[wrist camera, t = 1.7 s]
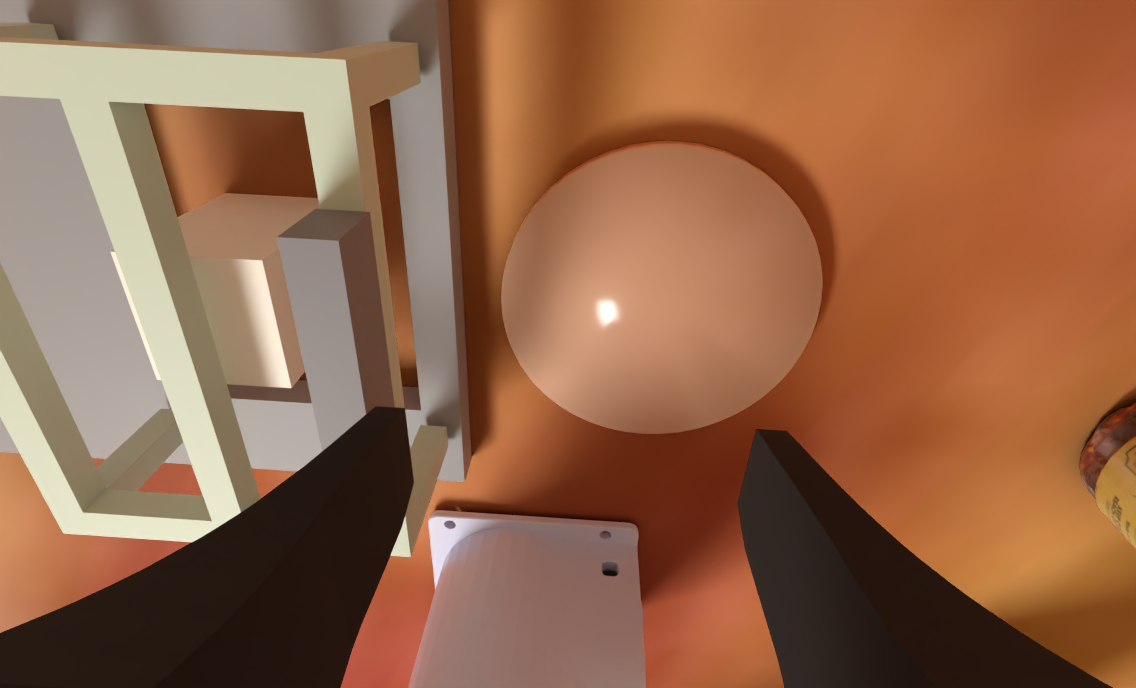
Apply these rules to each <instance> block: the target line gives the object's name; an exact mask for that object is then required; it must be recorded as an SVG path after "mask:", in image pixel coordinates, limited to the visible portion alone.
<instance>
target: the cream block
mask: <svg viewBox="0 0 1136 688" xmlns="http://www.w3.org/2000/svg"><path fill="white" fill-rule="evenodd" d="M314 209H320V206H319V201H318V198H306V197H289V196H271V195H253V194H235V193H224V194H222V195H220V196H218V197H216V198H214V199H212V200H210V201H208V202H206V203H204V204H202V205H200V206H199V207H197V208H195V209H193V210H191V211H189V212H187V213H185V214H183V215H181V216H179V217H177V218H178V221H179V225H180V228H181V231H182V235H183V238H184V241H185V245H186V248H187V252H188V255H189V258H190V262H191V265H192V268H193V272H194V275H195V279H196V282H197V285H198V289H199V292H200V296H201V299H202V302H203V306H204V309H205V312H206V316H207V319H208V323H209V326H210V329H211V333H212V336H213V340H214V343H215V346H216V350H217V353H218V356H219V360H220V363H221V367H222V370H223V373H224V377H225V380H226V384H231V385H247V386H263V387H279V388H292V387H293V386H294V385H295V383H296V382H297V381H298V380H299V378H300V377H301V376H302V375H303V373H304V372H305V368H304V364H303V359H302V354H301V349H300V345H299V340H298V335H297V331H296V326H295V321H294V317H293V312H292V307H291V302H290V298H289V293H288V288H287V284H286V279H285V274H284V270H283V265H282V260H281V256H280V251H279V246H278V241H277V237H278V236H279V235H280V234H282V233H283V232H284V231H286V230H287V229H288V228H290V227H291V226H293V225H294V224H295V223H297V222H298V221H299V220H301V219H302V218H304V217H305V216H306V215H308V214H309V213H310V212H312V211H313V210H314ZM111 255H112V258H113V260H114V263H115V266H116V269H117V271H118V274H119V277H120V280H121V282H122V285H123V288H124V291H125V293H126V296H127V299H128V302H129V304H130V307H131V310H132V313H133V315H134V318H135V321H136V324H137V326H138V329H139V332H140V335H141V337H142V340H143V343H144V346H145V348H146V351H147V354H148V357H149V359H150V362H151V365H152V368H153V370H154V373H155V376H156V379H157V380H161V378H160V375H159V373H158V370H157V367H156V364H155V362H154V359H153V356H152V353H151V350H150V348H149V345H148V342H147V339H146V337H145V334H144V331H143V328H142V326H141V323H140V320H139V317H138V314H137V312H136V309H135V306H134V303H133V301H132V298H131V295H130V292H129V289H128V287H127V284H126V281H125V278H124V276H123V273H122V270H121V267H120V264H119V262H118V259H117V256H116V253H115V251H114V250H113V251H111Z"/></svg>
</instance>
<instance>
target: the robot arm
mask: <svg viewBox="0 0 1136 688" xmlns="http://www.w3.org/2000/svg"><path fill="white" fill-rule="evenodd" d="M413 485H414V478H413V469H412V461H411V453H410V445H409V437H408V428H407V420H406V412H405V408H397V407H381V406H376V407H374V408H373V409H372V410H371V411H369V412H368V413H367V414H366V415H365V416H363V417H362V418H361V419H360V420H359V421H358V422H356V423H355V424H354V425H353V426H352V427H350V428H349V429H348V430H347V431H346V432H345V433H343V434H342V435H341V436H340V437H339V438H338V439H336V440H335V441H334V442H333V443H332V444H331V445H329V446H328V447H327V448H326V449H325V450H323V451H322V452H321V453H320V454H318V455H317V456H316V457H315V458H314V459H312V460H311V461H310V462H309V463H307V464H306V465H305V466H304V467H303V468H301V469H300V470H299V471H297V472H296V473H295V474H293V475H292V476H291V477H289V478H288V479H287V480H285V481H284V482H283V483H281V484H280V485H279V486H277V487H276V488H275V489H273V490H272V491H271V492H269V493H268V494H267V495H265V496H264V497H263V498H261V499H260V500H258V501H257V502H256V503H254V504H253V505H251V506H250V507H248V508H247V509H245V510H244V511H242V512H241V513H239V514H238V515H236V516H235V517H233V518H231V519H230V520H228V521H227V522H225V523H224V524H222V525H220V526H219V527H217V528H216V529H214V530H212V531H211V532H209V533H208V534H206V535H204V536H203V537H201V538H199V539H197V540H196V541H194V542H192V543H190V544H188V545H186V546H185V547H183V548H181V549H179V550H177V551H176V552H174V553H172V554H170V555H168V556H167V557H165V558H163V559H161V560H159V561H158V562H156V563H154V564H152V565H150V566H149V567H147V568H145V569H143V570H141V571H139V572H137V573H135V574H133V575H131V576H129V577H127V578H125V579H123V580H121V581H119V582H117V583H115V584H113V585H110V586H108V587H106V588H104V589H102V590H100V591H98V592H95V593H93V594H91V595H89V596H87V597H85V598H83V599H80V600H78V601H76V602H74V603H71V604H69V605H67V606H65V607H62V608H60V609H58V610H55V611H53V612H51V613H48V614H46V615H43V616H41V617H38V618H36V619H33V620H31V621H29V622H26V623H24V624H21V625H19V626H16V627H14V628H11V629H9V630H7V631H4V632H2V633H0V688H340V687H341V684H342V681H343V677H344V674H345V671H346V668H347V664H348V661H349V658H350V655H351V651H352V648H353V646H354V643H355V640H356V638H357V635H358V632H359V629H360V627H361V624H362V622H363V620H364V617H365V615H366V612H367V610H368V608H369V605H370V603H371V600H372V598H373V596H374V593H375V591H376V589H377V586H378V584H379V581H380V579H381V577H382V574H383V572H384V570H385V567H386V565H387V562H388V560H389V558H390V555H391V553H392V550H393V548H394V545H395V543H396V541H397V538H398V536H399V533H400V531H401V528H402V525H403V522H404V518H405V515H406V511H407V508H408V504H409V500H410V496H411V492H412V489H413ZM738 508H739V515H740V522H741V528H742V534H743V540H744V545H745V550H746V554H747V557H748V561H749V564H750V568H751V571H752V575H753V578H754V581H755V585H756V588H757V591H758V595H759V598H760V601H761V605H762V608H763V611H764V615H765V618H766V621H767V625H768V628H769V631H770V635H771V638H772V641H773V645H774V648H775V651H776V655H777V658H778V662H779V666H780V670H781V674H782V678H783V683H784V688H1113V687H1111V686H1109V685H1107V684H1105V683H1103V682H1102V681H1100V680H1098V679H1096V678H1095V677H1093V676H1091V675H1089V674H1088V673H1086V672H1084V671H1083V670H1081V669H1079V668H1078V667H1076V666H1074V665H1073V664H1071V663H1069V662H1068V661H1066V660H1064V659H1063V658H1061V657H1059V656H1058V655H1056V654H1054V653H1053V652H1051V651H1049V650H1048V649H1046V648H1045V647H1043V646H1041V645H1040V644H1038V643H1037V642H1035V641H1034V640H1032V639H1030V638H1029V637H1027V636H1026V635H1024V634H1023V633H1021V632H1019V631H1018V630H1016V629H1015V628H1013V627H1012V626H1010V625H1009V624H1007V623H1006V622H1005V621H1003V620H1002V619H1000V618H999V617H997V616H996V615H994V614H993V613H991V612H990V611H989V610H987V609H986V608H984V607H983V606H981V605H980V604H978V603H977V602H975V601H974V600H973V599H971V598H970V597H968V596H967V595H966V594H964V593H963V592H962V591H960V590H959V589H957V588H956V587H955V586H953V585H952V584H951V583H950V582H948V581H947V580H946V579H944V578H943V577H942V576H941V575H939V574H938V573H937V572H935V571H934V570H933V569H932V568H930V567H929V566H928V565H927V564H925V563H924V562H923V561H921V560H920V559H919V558H918V557H916V556H915V555H914V554H913V553H912V552H910V551H909V550H908V549H907V548H906V547H904V546H903V545H902V544H901V543H900V542H899V541H898V540H897V539H895V538H894V537H893V536H892V535H891V534H890V533H889V532H888V531H886V530H885V529H884V528H883V527H882V526H881V525H880V524H879V523H877V522H876V521H875V520H874V519H873V518H872V517H871V516H870V515H869V514H868V513H867V512H866V511H865V510H864V509H862V508H861V507H860V506H859V505H858V504H857V503H856V502H855V501H854V500H853V499H852V498H851V497H850V496H849V495H848V494H847V493H846V492H845V491H844V490H843V489H842V488H841V487H840V486H839V485H838V484H837V483H836V482H835V481H834V480H833V479H832V478H831V477H830V476H829V475H828V474H827V473H826V472H825V470H824V469H823V468H822V467H821V466H820V465H819V464H818V463H817V462H816V461H815V460H814V459H813V458H812V457H811V456H810V455H809V454H808V453H807V452H806V451H805V450H804V448H803V447H802V446H801V445H800V444H799V443H798V442H797V441H796V440H795V439H794V438H793V437H792V436H791V435H790V434H789V433H788V432H787V431H778V430H762V429H756V432H755V436H754V440H753V444H752V448H751V452H750V456H749V460H748V464H747V468H746V472H745V476H744V480H743V484H742V488H741V492H740V496H739V500H738ZM449 521H453V522H449ZM428 526H429V535H430V544H431V554H432V563H433V573H434V582H435V594H434V597H433V601H432V604H431V608H430V611H429V615H428V619H427V622H426V626H425V629H424V633H423V636H422V640H421V644H420V647H419V651H418V654H417V658H416V662H415V665H414V669H413V672H412V676H411V679H410V683H409V687H408V688H646V672H645V654H644V639H643V608H642V602H641V594H640V579H639V565H638V550H637V545H638V538H639V534H638V528H637V526H636V525H634V524H632V523H625V522H610V521H595V520H580V519H565V518H550V517H535V516H520V515H505V514H489V513H474V512H459V511H444V510H437V511H434V512H432V513H431V514H430V517H429V521H428ZM602 531H608V532H602Z"/></svg>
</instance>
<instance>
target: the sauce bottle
mask: <svg viewBox="0 0 1136 688" xmlns="http://www.w3.org/2000/svg"><path fill="white" fill-rule="evenodd" d="M1079 467H1080V472H1081V478H1082V480H1083V482H1084V484H1085V486H1086V487H1087V489H1088V490H1089V492H1090V493H1091V494H1092V495H1093V496H1094V498H1095V499H1096V504H1097V506H1098V507H1099V509H1100V510H1101V511H1102V512H1103V514H1104V515H1105V516H1106V517H1107V518H1108V519H1109V520H1110V521H1111V522H1112V524H1113V525H1114V526H1115V527H1116V528H1117V529H1118V530H1119V531H1120V532H1121V534H1122V535H1123V536H1124V537H1125V538H1126V539H1127V540H1128V541H1129V542H1130V543H1131V544H1132V545H1133V547H1134V548H1135V549H1136V403H1134V404H1133V405H1132V406H1130V407H1126V408H1121V409H1119V410H1117V411H1116V412H1114V413H1113V414H1111V415H1109V416H1108V417H1106V418H1105V419H1104V420H1103V421H1102V422H1101V423H1100V424H1099V425H1098V427H1097V429H1096V430H1095V432H1094V435H1093V436H1092V437H1091V438H1090V439H1089V440H1088V442H1087V444H1086V446H1085V447H1084V449H1083V450H1082V452H1081V457H1080V462H1079Z"/></svg>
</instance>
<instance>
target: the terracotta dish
mask: <svg viewBox="0 0 1136 688" xmlns="http://www.w3.org/2000/svg"><path fill="white" fill-rule="evenodd" d="M822 284H823V278H822V267H821V259H820V255H819V251H818V247H817V243H816V240H815V238H814V236H813V233H812V231H811V229H810V226H809V224H808V222H807V221H806V219H805V217H804V216H803V214H802V213H801V211H800V209H799V208H798V206H797V205H796V204H795V203H794V202H793V200H792V199H791V198H790V197H789V196H788V195H787V193H786V192H785V191H784V190H783V189H782V188H781V187H780V186H779V185H778V184H777V183H776V182H775V181H774V180H773V179H771V178H770V177H769V176H768V175H767V174H765V173H764V172H763V171H762V170H761V169H759V168H757V167H756V166H754V165H753V164H751V163H749V162H748V161H746V160H744V159H743V158H741V157H738V156H736V155H734V154H731V153H729V152H727V151H724V150H722V149H718V148H715V147H711V146H707V145H703V144H699V143H691V142H683V141H652V142H645V143H638V144H631V145H628V146H624V147H621V148H617V149H614V150H610V151H608V152H605V153H603V154H601V155H598V156H596V157H594V158H592V159H589V160H587V161H586V162H584V163H582V164H581V165H579V166H577V167H576V168H574V169H572V170H571V171H569V172H568V173H567V174H565V175H564V176H563V177H562V178H560V179H559V180H558V181H557V182H555V183H554V184H553V185H552V186H551V187H550V188H549V189H548V190H547V191H546V192H545V193H544V194H543V195H542V196H541V197H540V198H539V199H538V200H537V202H536V203H535V204H534V206H533V207H532V209H531V210H530V211H529V213H528V214H527V215H526V217H525V219H524V220H523V222H522V224H521V226H520V228H519V230H518V232H517V234H516V236H515V239H514V241H513V244H512V247H511V250H510V252H509V255H508V258H507V261H506V265H505V269H504V274H503V279H502V292H501V305H502V317H503V322H504V326H505V330H506V335H507V338H508V340H509V343H510V345H511V348H512V350H513V353H514V355H515V356H516V358H517V360H518V362H519V364H520V365H521V367H522V369H523V370H524V371H525V373H526V374H527V375H528V377H529V378H530V379H531V381H532V382H533V383H534V384H535V385H536V386H537V387H538V388H539V389H540V390H541V391H542V392H543V393H544V394H545V395H546V396H547V397H549V398H550V399H551V400H552V401H554V402H555V403H556V404H557V405H559V406H560V407H562V408H564V409H565V410H567V411H568V412H570V413H572V414H573V415H575V416H578V417H580V418H582V419H584V420H586V421H588V422H591V423H594V424H597V425H599V426H602V427H605V428H609V429H614V430H618V431H623V432H630V433H639V434H666V433H677V432H683V431H688V430H693V429H698V428H701V427H705V426H708V425H711V424H714V423H717V422H719V421H722V420H724V419H726V418H729V417H731V416H733V415H735V414H737V413H739V412H741V411H742V410H744V409H746V408H748V407H749V406H751V405H752V404H754V403H755V402H757V401H758V400H759V399H761V398H762V397H764V396H765V395H766V394H767V393H768V392H769V391H771V390H772V389H773V388H774V387H775V386H776V385H777V384H778V383H779V382H780V381H781V380H782V379H783V378H784V377H785V376H786V375H787V373H788V372H789V371H790V370H791V369H792V368H793V366H794V365H795V363H796V362H797V360H798V359H799V357H800V356H801V355H802V353H803V351H804V349H805V347H806V345H807V343H808V342H809V340H810V338H811V335H812V333H813V330H814V327H815V324H816V322H817V319H818V314H819V309H820V305H821V300H822Z"/></svg>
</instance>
